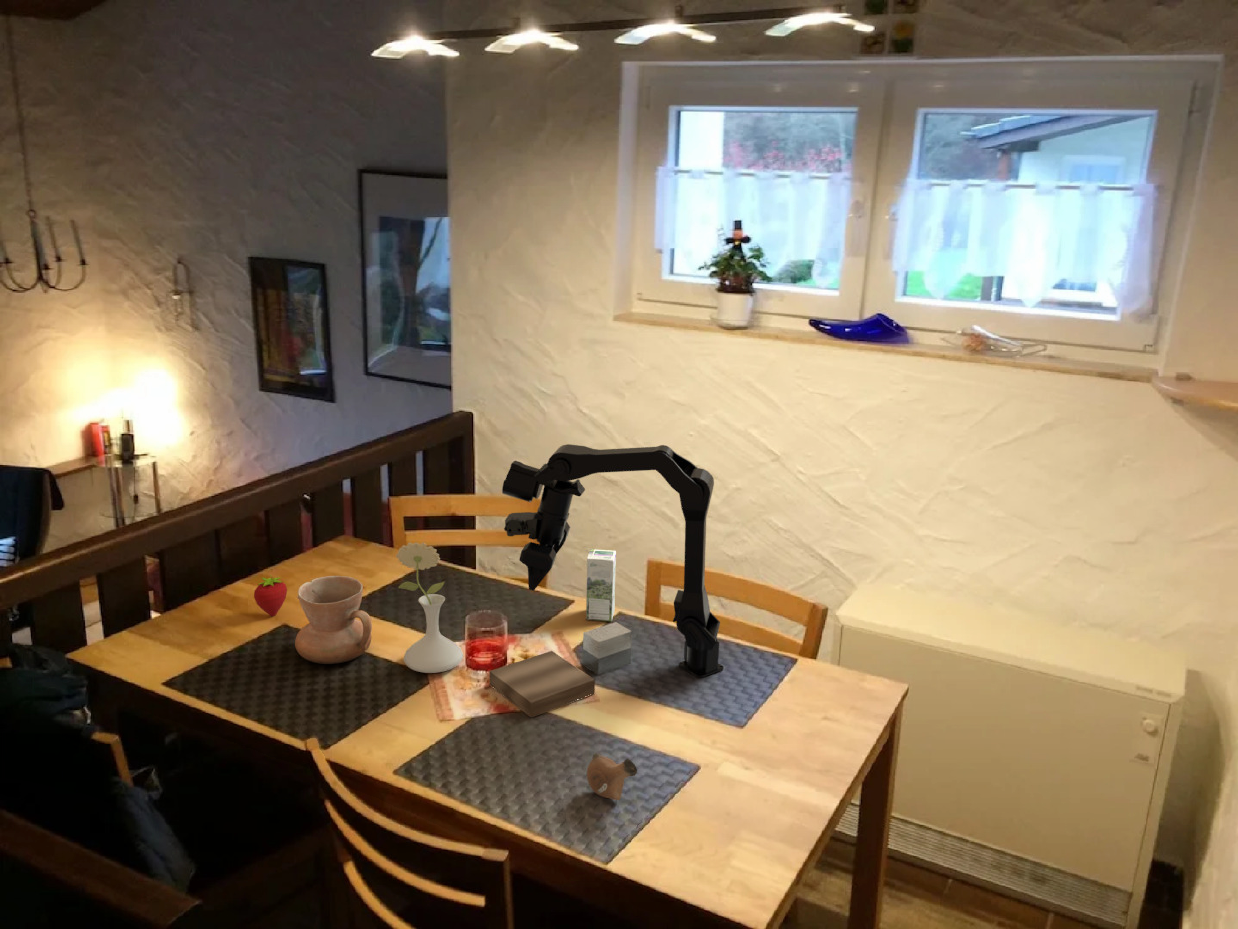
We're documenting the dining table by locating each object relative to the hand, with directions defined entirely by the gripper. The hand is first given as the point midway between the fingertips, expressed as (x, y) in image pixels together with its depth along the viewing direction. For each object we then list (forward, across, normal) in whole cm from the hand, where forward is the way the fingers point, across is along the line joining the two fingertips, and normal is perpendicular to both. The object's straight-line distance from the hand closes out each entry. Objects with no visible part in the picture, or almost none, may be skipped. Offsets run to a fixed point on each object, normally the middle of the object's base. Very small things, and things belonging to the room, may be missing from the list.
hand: (536, 580), depth 202 cm
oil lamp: (+9, +47, +25) cm, 54 cm away
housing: (+11, +4, +18) cm, 22 cm away
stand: (+13, +16, +8) cm, 22 cm away
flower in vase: (+19, +10, -15) cm, 26 cm away
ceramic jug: (+23, +10, -34) cm, 42 cm away
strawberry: (+28, -4, -53) cm, 60 cm away
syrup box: (+13, -17, +14) cm, 25 cm away
